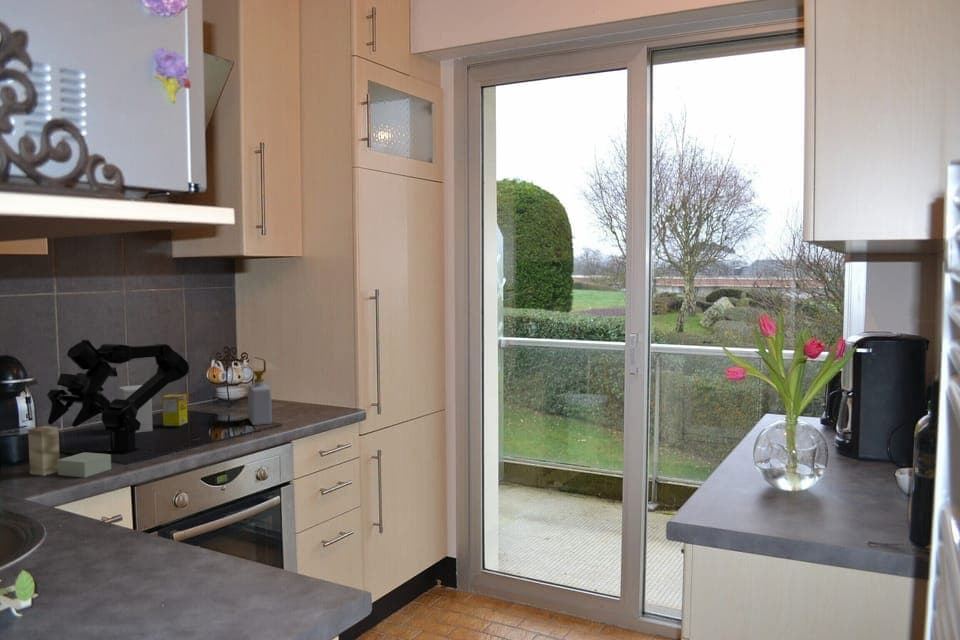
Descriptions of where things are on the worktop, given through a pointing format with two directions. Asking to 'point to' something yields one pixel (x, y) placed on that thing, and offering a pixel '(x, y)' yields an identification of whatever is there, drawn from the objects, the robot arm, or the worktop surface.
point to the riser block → (84, 464)
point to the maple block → (43, 450)
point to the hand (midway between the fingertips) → (61, 425)
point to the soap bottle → (259, 400)
